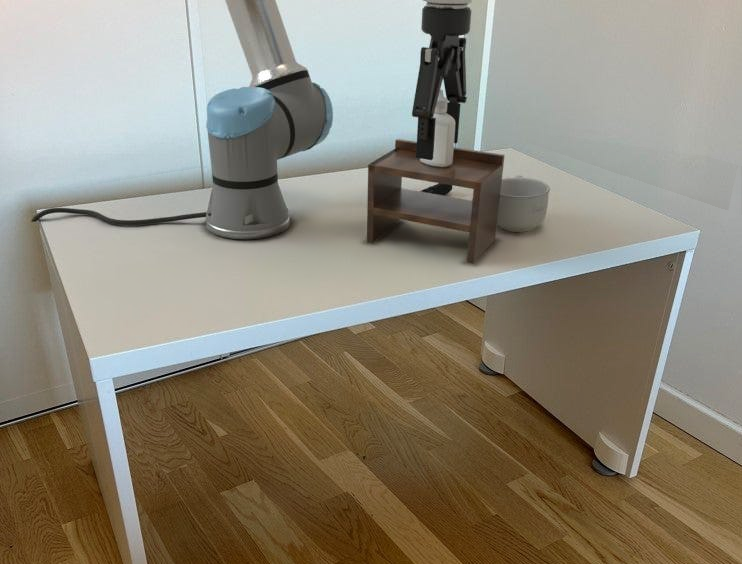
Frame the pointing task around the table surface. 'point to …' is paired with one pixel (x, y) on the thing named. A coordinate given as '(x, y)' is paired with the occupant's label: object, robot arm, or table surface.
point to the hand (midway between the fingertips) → (437, 150)
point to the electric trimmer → (438, 189)
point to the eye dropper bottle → (442, 135)
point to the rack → (435, 209)
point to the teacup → (522, 203)
